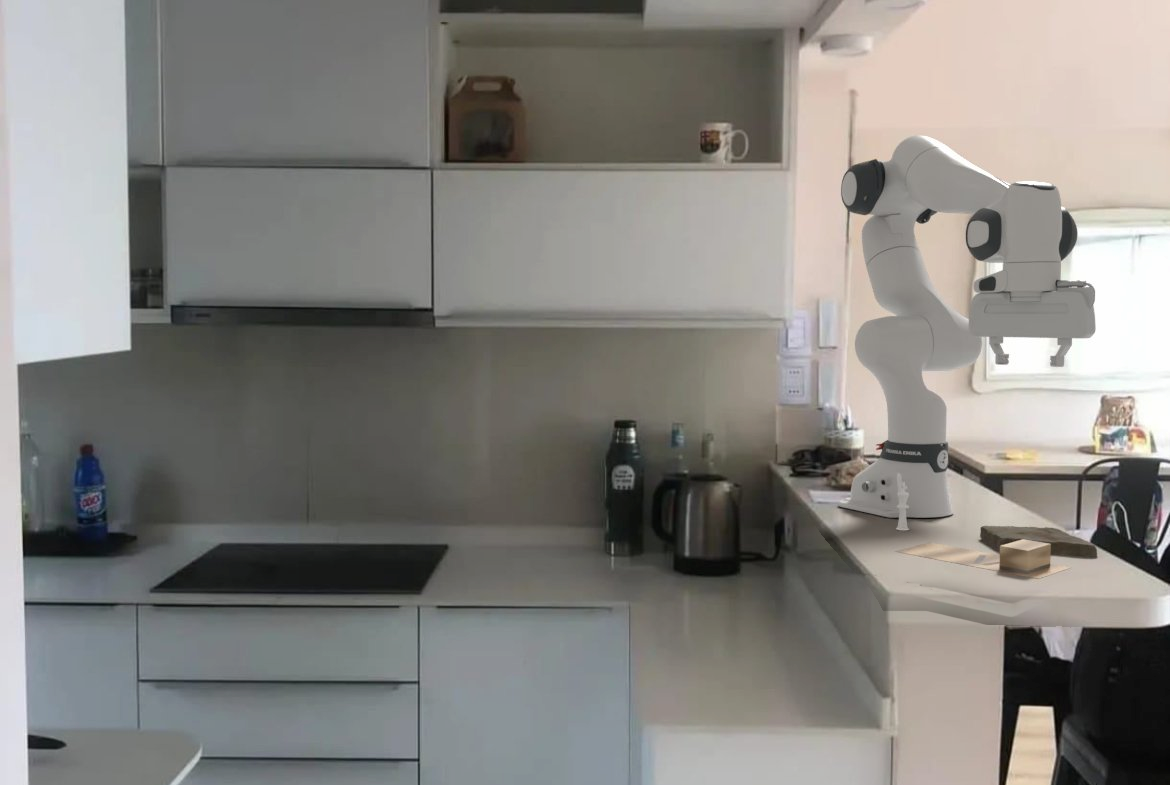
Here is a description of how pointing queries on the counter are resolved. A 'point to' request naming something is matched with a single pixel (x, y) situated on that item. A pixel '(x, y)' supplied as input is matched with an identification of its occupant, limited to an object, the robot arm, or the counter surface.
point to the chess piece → (902, 508)
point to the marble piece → (1038, 539)
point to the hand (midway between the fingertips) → (1029, 365)
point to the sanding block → (1025, 556)
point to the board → (972, 559)
